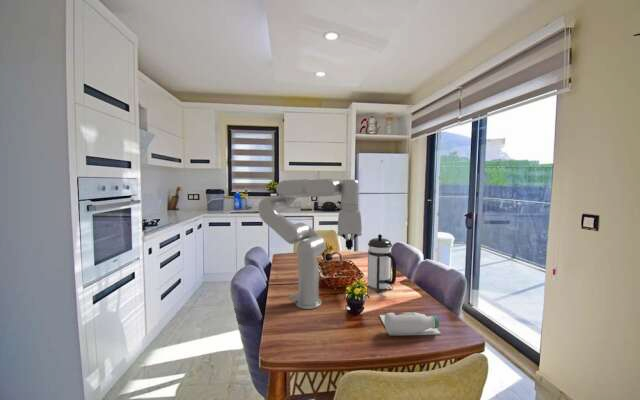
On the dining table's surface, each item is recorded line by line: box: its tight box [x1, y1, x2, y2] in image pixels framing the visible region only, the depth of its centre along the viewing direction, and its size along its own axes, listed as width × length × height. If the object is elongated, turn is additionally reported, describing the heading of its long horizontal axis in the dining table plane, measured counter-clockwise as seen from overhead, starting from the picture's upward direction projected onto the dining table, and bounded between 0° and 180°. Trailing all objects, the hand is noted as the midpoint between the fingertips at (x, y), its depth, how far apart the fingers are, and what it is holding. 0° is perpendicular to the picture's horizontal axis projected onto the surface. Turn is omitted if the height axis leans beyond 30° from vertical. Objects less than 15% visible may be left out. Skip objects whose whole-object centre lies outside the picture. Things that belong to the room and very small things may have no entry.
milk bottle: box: [384, 311, 440, 336], centre depth 113 cm, size 8×8×20 cm
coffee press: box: [366, 234, 397, 294], centre depth 159 cm, size 17×16×30 cm
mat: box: [379, 313, 442, 337], centre depth 120 cm, size 20×16×1 cm
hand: (349, 248), depth 129 cm, fingers closed
